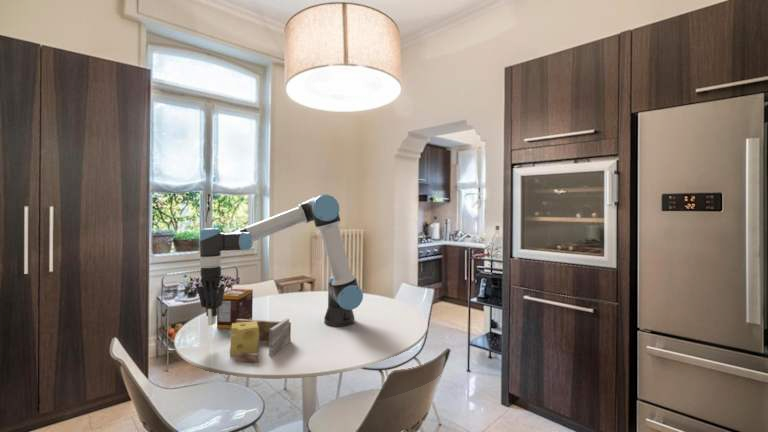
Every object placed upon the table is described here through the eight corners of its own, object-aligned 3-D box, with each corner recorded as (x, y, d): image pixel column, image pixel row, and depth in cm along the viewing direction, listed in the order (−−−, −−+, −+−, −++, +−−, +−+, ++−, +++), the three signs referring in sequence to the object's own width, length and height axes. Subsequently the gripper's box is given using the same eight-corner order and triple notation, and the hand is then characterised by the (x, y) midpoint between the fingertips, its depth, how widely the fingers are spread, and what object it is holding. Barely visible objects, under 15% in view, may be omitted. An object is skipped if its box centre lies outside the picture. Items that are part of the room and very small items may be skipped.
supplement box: (252, 319, 181) (253, 289, 181) (237, 329, 166) (237, 295, 166) (233, 318, 182) (233, 288, 182) (216, 328, 167) (216, 295, 167)
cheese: (229, 356, 134) (230, 330, 134) (230, 346, 144) (231, 322, 144) (258, 353, 138) (259, 327, 138) (258, 343, 148) (258, 319, 148)
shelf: (290, 341, 151) (290, 317, 151) (262, 363, 128) (263, 336, 128) (237, 337, 155) (237, 314, 155) (201, 358, 132) (201, 331, 132)
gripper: (230, 265, 147) (231, 321, 147) (202, 264, 149) (203, 320, 150) (219, 268, 140) (220, 327, 140) (189, 267, 142) (191, 326, 142)
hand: (211, 324), depth 145 cm, fingers closed
